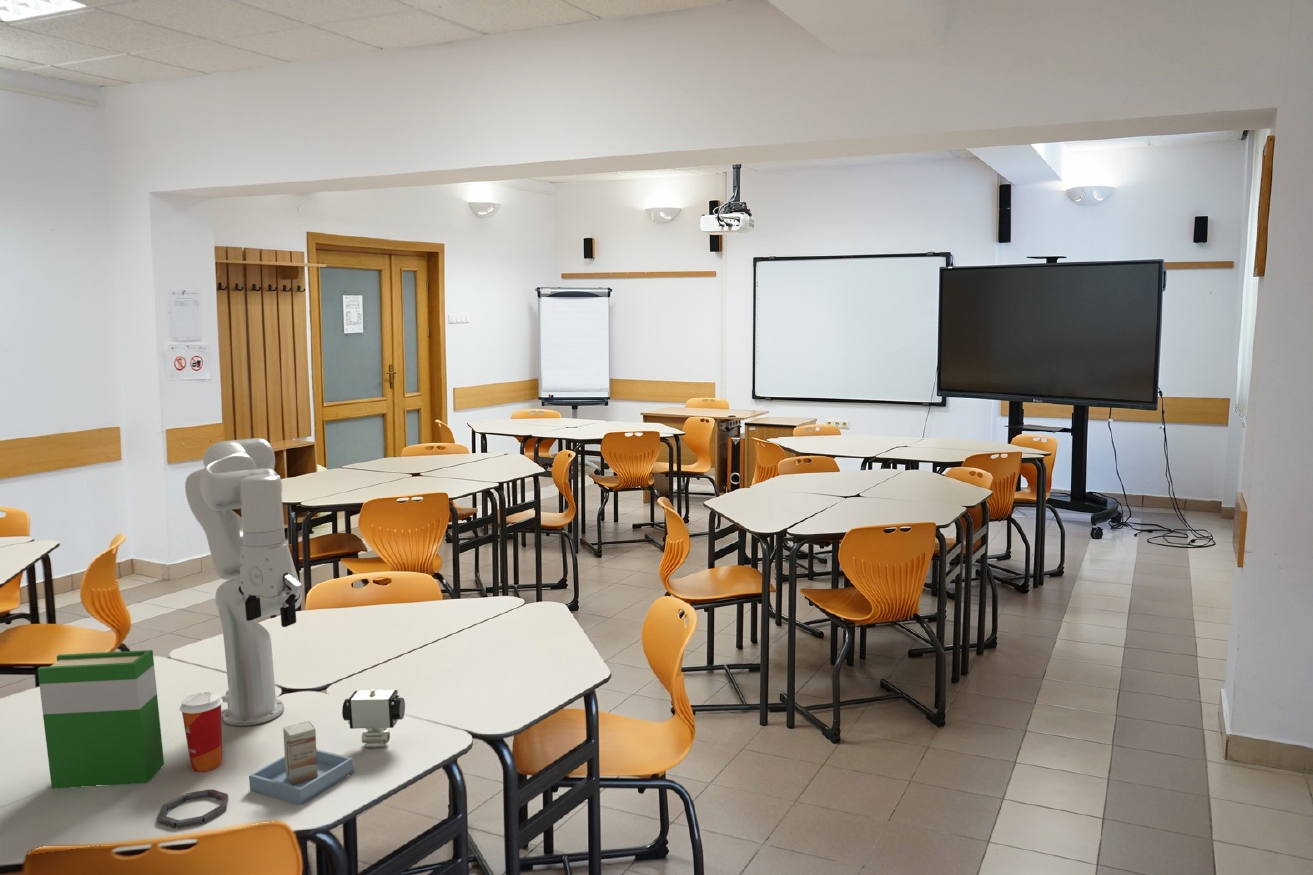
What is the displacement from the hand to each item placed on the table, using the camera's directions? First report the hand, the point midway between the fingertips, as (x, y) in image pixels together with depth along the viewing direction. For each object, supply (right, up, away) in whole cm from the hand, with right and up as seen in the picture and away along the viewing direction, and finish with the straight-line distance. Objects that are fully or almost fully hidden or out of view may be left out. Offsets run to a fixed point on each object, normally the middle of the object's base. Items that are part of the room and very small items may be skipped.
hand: (271, 621), depth 188 cm
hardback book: (-31, -30, -3) cm, 43 cm away
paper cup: (-13, -29, +1) cm, 32 cm away
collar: (-7, -31, -17) cm, 36 cm away
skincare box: (+9, -29, -6) cm, 31 cm away
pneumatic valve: (+19, -27, +8) cm, 34 cm away
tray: (+9, -29, -7) cm, 31 cm away
